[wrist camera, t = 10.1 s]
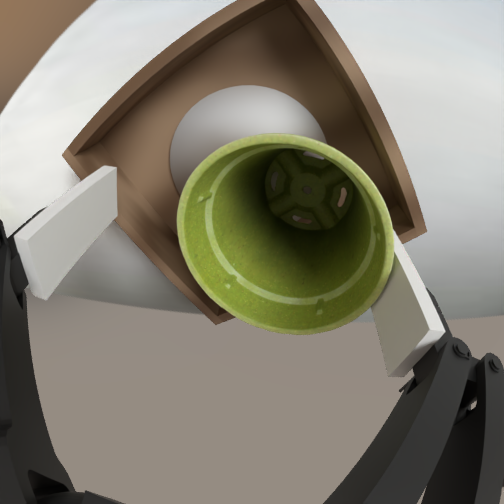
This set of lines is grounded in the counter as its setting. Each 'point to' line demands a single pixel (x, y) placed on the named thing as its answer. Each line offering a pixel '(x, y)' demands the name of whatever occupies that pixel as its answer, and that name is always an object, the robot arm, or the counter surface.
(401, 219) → the brown wooden square tray
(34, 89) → the counter surface
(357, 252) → the plant pot
